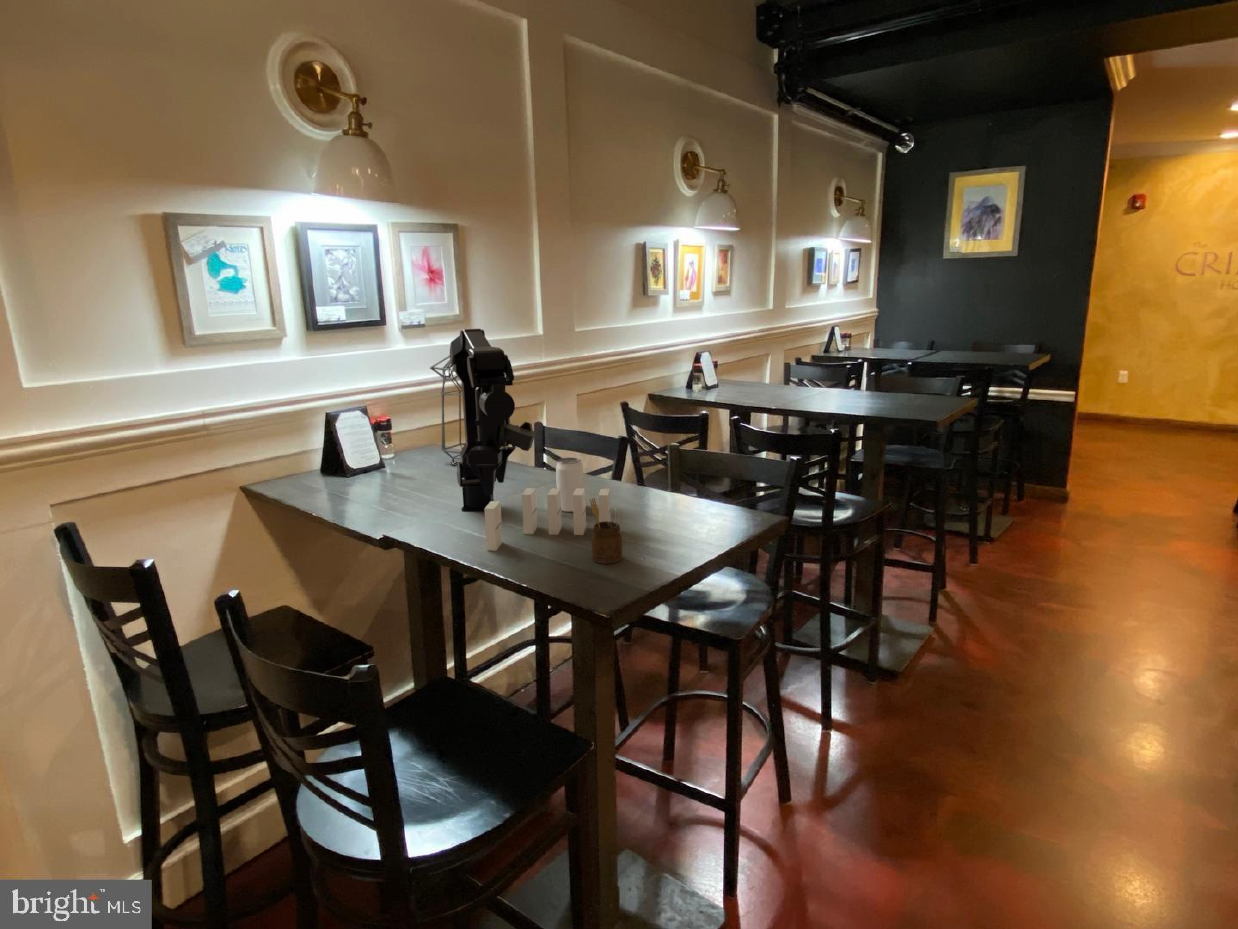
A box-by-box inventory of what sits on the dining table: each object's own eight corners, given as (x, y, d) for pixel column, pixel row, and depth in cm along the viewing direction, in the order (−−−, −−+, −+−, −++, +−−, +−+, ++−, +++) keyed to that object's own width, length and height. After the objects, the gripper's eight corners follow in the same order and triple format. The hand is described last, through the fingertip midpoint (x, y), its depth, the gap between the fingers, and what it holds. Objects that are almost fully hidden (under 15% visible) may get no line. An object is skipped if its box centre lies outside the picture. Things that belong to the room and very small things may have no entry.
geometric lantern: (433, 467, 214) (424, 349, 206) (464, 456, 228) (456, 346, 220) (477, 470, 208) (470, 349, 200) (506, 459, 222) (499, 346, 215)
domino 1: (486, 550, 146) (484, 508, 144) (493, 541, 151) (490, 501, 148) (496, 550, 146) (494, 508, 143) (502, 542, 150) (500, 501, 148)
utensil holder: (612, 567, 136) (610, 507, 133) (584, 560, 139) (583, 502, 136) (628, 557, 141) (627, 499, 138) (601, 551, 144) (600, 494, 141)
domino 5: (598, 535, 154) (598, 495, 151) (601, 527, 158) (600, 488, 156) (608, 535, 153) (607, 495, 151) (610, 527, 158) (610, 488, 156)
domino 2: (523, 534, 155) (521, 494, 153) (528, 526, 160) (526, 488, 158) (533, 534, 155) (531, 494, 153) (537, 526, 160) (536, 488, 157)
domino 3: (548, 534, 154) (546, 494, 152) (552, 526, 159) (551, 488, 157) (558, 534, 154) (556, 494, 152) (562, 527, 159) (560, 488, 157)
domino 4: (573, 534, 154) (572, 495, 152) (577, 527, 159) (575, 488, 157) (583, 535, 154) (582, 495, 152) (586, 527, 159) (585, 488, 156)
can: (580, 513, 168) (578, 464, 165) (554, 511, 170) (552, 463, 167) (587, 505, 175) (585, 457, 172) (561, 503, 176) (559, 456, 173)
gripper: (521, 421, 132) (525, 501, 136) (539, 405, 150) (542, 476, 154) (462, 421, 133) (468, 501, 137) (487, 405, 151) (492, 476, 155)
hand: (495, 488), depth 146 cm, fingers open, 9 cm apart
